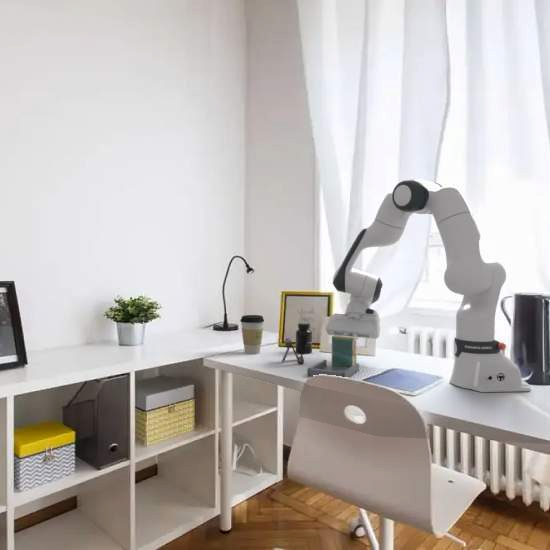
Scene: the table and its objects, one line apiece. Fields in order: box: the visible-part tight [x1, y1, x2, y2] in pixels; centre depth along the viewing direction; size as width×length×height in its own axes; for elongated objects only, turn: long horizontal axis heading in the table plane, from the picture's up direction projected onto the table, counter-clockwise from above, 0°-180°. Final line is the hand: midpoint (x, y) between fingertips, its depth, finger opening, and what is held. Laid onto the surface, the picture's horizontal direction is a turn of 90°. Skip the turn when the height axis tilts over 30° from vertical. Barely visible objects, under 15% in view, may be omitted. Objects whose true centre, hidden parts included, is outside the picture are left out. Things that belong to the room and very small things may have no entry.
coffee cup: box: [239, 314, 265, 355], centre depth 200 cm, size 10×10×15 cm
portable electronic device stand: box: [281, 337, 305, 365], centre depth 183 cm, size 9×8×8 cm
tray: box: [307, 359, 360, 378], centre depth 166 cm, size 13×15×2 cm
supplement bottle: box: [295, 322, 313, 355], centre depth 200 cm, size 7×7×12 cm
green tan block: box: [331, 335, 357, 368], centre depth 174 cm, size 4×8×11 cm, turn 62°
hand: (348, 344), depth 178 cm, fingers closed
